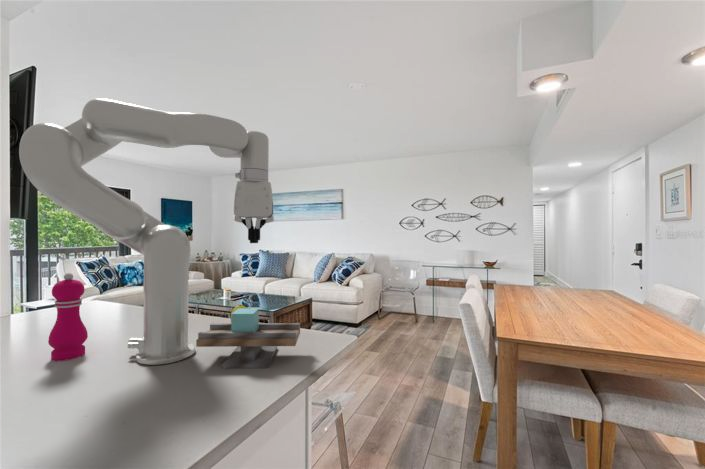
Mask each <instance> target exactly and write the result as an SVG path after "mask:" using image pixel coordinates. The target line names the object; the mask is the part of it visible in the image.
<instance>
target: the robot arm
mask: <svg viewBox="0 0 705 469" xmlns="http://www.w3.org/2000/svg"><path fill="white" fill-rule="evenodd" d="M269 141H270V140H269V137H268V135H267V134H265V133H263V132H261V131H258V130H257V131H254V130H248V131H247V129H246V127H245V126H243V124H241V123H240V122H237V121H236V120H233V119H229V118H225V117H221V116H217V115H212V114H206V113H195V112H193V113H192V112H179V111H178V112H177V111H174V112H172V111H165V110H160V109H155V108H151V107H145V106H142V105H136V104H133V103H128V102H127V103H126V102H123V101H118V100H113V99H108V98H98V97H97V98H93V99H91V100H89V101H87V102H86V103H85V105H84V106H83V109H82V112H81V118H79V119H78V120H76V121H74V122H73V123H71V124H69V125H67V126H65V127H63V126H60V125H57V124H54V123H48V122H41V123H35V124H33V125H31V126H29V127H28V128H27V129H26V130H25V131H24V132H23V133H22V136H21V138H20V142H19V145H18V146H19V149H18V154H19V155H18V157H19V161H20V165H21V168H22V170H23V173H24V174H25V176H26V178H27V179H28V181H30V183H31V184H32V186H33V187H35V189H36V190H38V192H40V193H41V194H42V195H43V196H44V197H46V198H47V199H49V200H50V201H52V202H54V204H56V205H58V206H59V207H61V208H63V209H65V210H66V211H68V212H70V213H71V214H73V215H75V216H76V217H77V218H79V219H82V220H83V221H85V222H87V223H88V224H90V225H92V226H93V227H95V228H96V229H98V230H100V232H102V233H103V234H104V235H105V236H108V237H110V238H112V239H113V240H115V241H116V242H119V243H120V244H123V245H124V246H126V247H128V248H130V249H132V250H133V251H135V252H137V253H139V254H141V255H142V256H143V286H142V287H143V337H130V338H129V340H128V343H127V349H137V350H138V351H137V353H136V354H135V361H136V362H137V363H138V364H141V365H148V366H149V365H151V366H152V365H153V366H154V365H155V366H156V365H158V366H159V365H164V364H165V365H166V364H170V363H172V364H173V363H175V362H179V361H182V360H185V359H187V358H190V357H191V356H193V355H194V354H195V352H196V347H195V345H194V344H193V343H190V342H189V273H190V272H189V269H190V262H191V260H190V259H191V242H190V240H189V237H188V236H187V234H186V233H185V232H184V230H182V229H181V228H180V227H177V226H174V225H170V224H166V223H164V222H162V221H160V220H159V219H158V218H156V217H155V216H152V215H151V214H149V213H148V212H146V211H145V210H144V209H143V207H141V205H139V204H138V203H137V202H135V201H133V200H131V199H129V198H127V197H125V196H123V195H122V194H120V193H118V192H117V191H116V190H114V189H112V188H110V187H109V186H107V185H105V184H104V183H103V182H101V181H100V180H98V179H97V178H95V177H94V176H92V175H90V174H89V173H88V172H87V171H86V170H85V169H84V168H83V166H84V165H87V164H88V163H89V162H91V161H93V160H95V159H97V158H98V157H100V156H102V155H104V154H105V153H107V152H108V151H110V150H112V149H113V148H115V147H116V146H118V145H119V144H120V143H122V142H125V143H133V144H138V145H139V144H140V145H145V146H146V145H147V146H150V147H156V148H163V149H173V148H179V147H185V146H203V147H205V146H207V147H209V149H210V151H211V152H212V153H213V154H214V155H216V156H217V157H220V158H223V159H224V158H227V159H229V158H230V159H231V158H236V159H237V158H239V159H240V169H239V172H235V173H234V177H235V178H236V179H239V180H238V181H237V182H236V186H235V192H234V199H233V200H234V202H233V213H234V214H233V215H234V219H233V220H234V221H235V222H236V223H237V222H238V223H240V224H243V225H244V226H245V227H246V229H247V240H248V241H249V243H250V244H258V243H259V241H260V240H261V229H262V228H263V227H264V226H265V225H266V224H269V223H273V222H275V219H274V198H273V189H272V184H271V182H270V181H269V152H270V151H269ZM253 219H256V220H255V226H254V223H253V222H254V221H253Z"/></svg>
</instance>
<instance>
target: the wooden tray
mask: <svg viewBox="0 0 705 469" xmlns="http://www.w3.org/2000/svg"><path fill="white" fill-rule="evenodd" d="M300 335H301V325H300V322H297V323H296V322H291V323H290V322H287V323H286V322H283V323H281V322H279V323H277V322H274V323H267V322H266V323H265V322H263V323H260V322H259V329H258V330H257V331H256V332H231V322H229V323H227V322H226V323H220V322H219V323H210V324H209V329H208V330H207V331H200V332H198V334H197V336H198V337H197V339H196V341H195V345H196V347H195V348H197V347H198V348H201V347H203V348H204V347H205V348H208V347H209V348H211V347H213V348H215V347H216V348H217V347H218V348H219V347H236V348H235V349H234V350H233V351H232V352H231V353H230V354H229V356H228V357H227V358H226V359H225V360H224V361H223V363H222V364H221V369H268V368H269V366H270V364H271V361H272V360H273V358H274V356H275V354H276V352H277V350H278V347H295V346H297V342H298V339H299V337H300Z"/></svg>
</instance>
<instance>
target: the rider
mask: <svg viewBox="0 0 705 469" xmlns="http://www.w3.org/2000/svg"><path fill="white" fill-rule="evenodd" d="M259 310H260V309H259V307H258V308H257V307H255V308H253V307H252V308H247V307H246V308H238V309H237V310H236V311H234V312H233V313H232V312H231V313H232V314H231V313H230V323H231V332H256V331H257V330H258V329H259V323H260V322H259V321H260V320H259V319H260V316H259V315H260V312H259Z"/></svg>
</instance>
